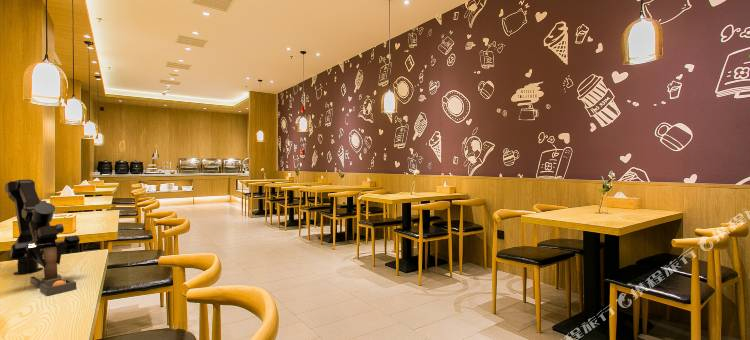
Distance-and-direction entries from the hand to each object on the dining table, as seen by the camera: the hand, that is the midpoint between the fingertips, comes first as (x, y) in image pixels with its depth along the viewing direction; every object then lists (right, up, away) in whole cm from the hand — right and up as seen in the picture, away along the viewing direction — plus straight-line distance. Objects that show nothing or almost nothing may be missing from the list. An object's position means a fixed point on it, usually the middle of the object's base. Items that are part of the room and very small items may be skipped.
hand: (51, 265), depth 132 cm
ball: (+6, -6, -4) cm, 10 cm away
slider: (-1, -8, +1) cm, 8 cm away
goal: (+6, -8, -4) cm, 10 cm away
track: (-6, -8, +5) cm, 11 cm away
